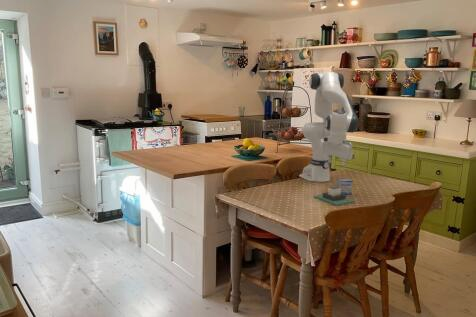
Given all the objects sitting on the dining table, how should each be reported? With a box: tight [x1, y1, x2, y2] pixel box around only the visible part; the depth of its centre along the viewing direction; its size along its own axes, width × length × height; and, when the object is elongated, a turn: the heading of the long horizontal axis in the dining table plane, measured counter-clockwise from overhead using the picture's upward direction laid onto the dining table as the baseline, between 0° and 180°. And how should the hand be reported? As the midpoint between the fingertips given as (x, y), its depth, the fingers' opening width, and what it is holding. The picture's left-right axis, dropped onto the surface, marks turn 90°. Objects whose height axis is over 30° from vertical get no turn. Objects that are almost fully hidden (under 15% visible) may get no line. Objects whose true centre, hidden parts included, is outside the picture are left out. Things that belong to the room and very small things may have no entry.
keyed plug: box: [327, 184, 341, 196], centre depth 221 cm, size 4×6×7 cm, turn 121°
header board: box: [313, 191, 356, 207], centre depth 221 cm, size 18×14×4 cm
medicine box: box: [336, 178, 353, 196], centre depth 233 cm, size 8×4×9 cm, turn 101°
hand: (336, 164), depth 217 cm, fingers open, 8 cm apart
